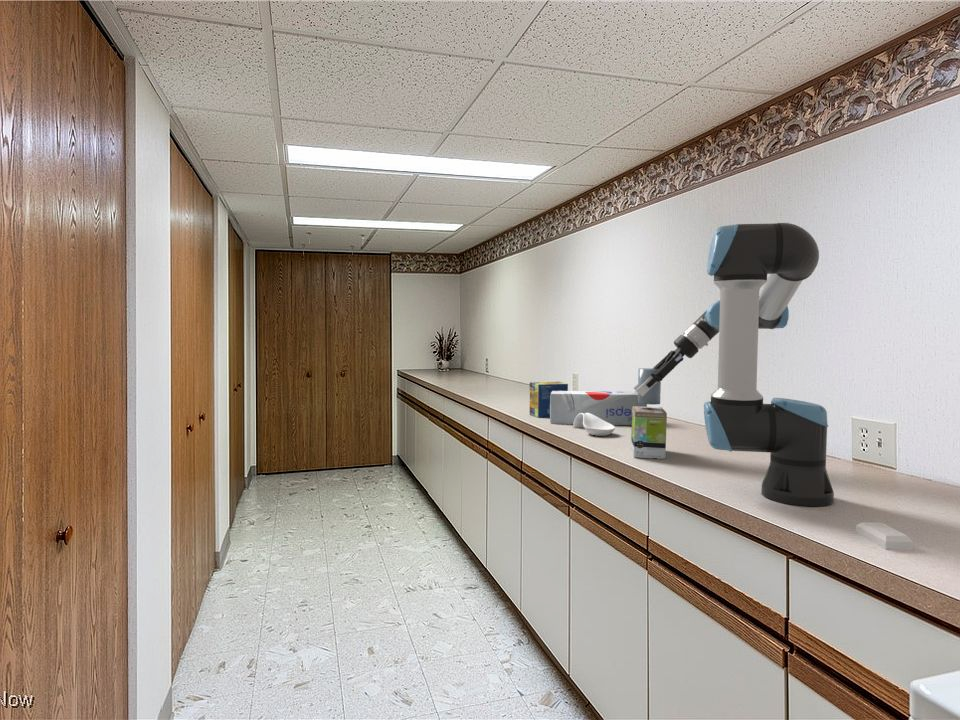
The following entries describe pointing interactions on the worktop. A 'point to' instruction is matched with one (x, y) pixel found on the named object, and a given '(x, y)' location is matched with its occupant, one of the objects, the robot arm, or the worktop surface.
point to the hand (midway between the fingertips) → (637, 392)
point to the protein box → (543, 397)
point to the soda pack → (593, 406)
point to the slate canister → (654, 392)
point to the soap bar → (885, 536)
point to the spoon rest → (593, 424)
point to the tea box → (648, 432)
